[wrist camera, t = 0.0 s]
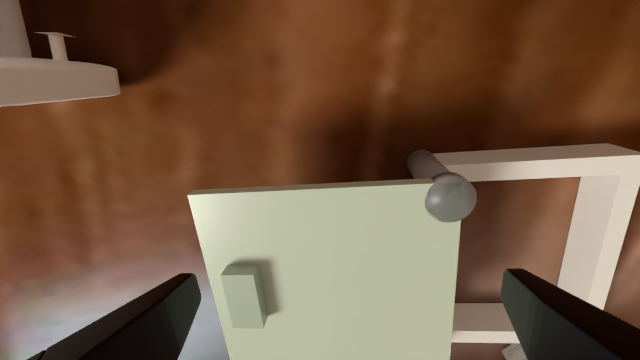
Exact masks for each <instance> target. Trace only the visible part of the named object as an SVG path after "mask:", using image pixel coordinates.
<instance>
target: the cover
mask: <svg viewBox="0 0 640 360" xmlns="http://www.w3.org/2000/svg"><path fill="white" fill-rule="evenodd" d="M188 199H189V203H190V207H191V211H192V215H193V218H194V222H195V226H196V230H197V234H198V238H199V242H200V246H201V249H202V253H203V257H204V261H205V265H206V269H207V273H208V277H209V280H210V284H211V288H212V292H213V296H214V300H215V304H216V308H217V311H218V315H219V319H220V323H221V327H222V331H223V335H224V339H225V342H226V346H227V350H228V354H229V358H230V360H450V353H451V341H452V328H453V315H454V303H455V290H456V277H457V265H458V252H459V239H460V226H461V220H462V219H463V218H465V217H466V216H468V215H469V214H470V213H471V212H472V210H473V209H474V207H475V205H476V201H477V194H476V190H475V188H474V187H473V185H472V184H471V183H470V182H469V181H468V180H467V179H465V178H464V177H463V176H462V175H460V174H457V173H454V172H443V173H440V174H437V175H435V176H433V177H432V178H423V179H403V180H383V181H363V182H343V183H323V184H303V185H283V186H263V187H243V188H223V189H203V190H194V191H192V192H191V193H190V194H188Z"/></svg>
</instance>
